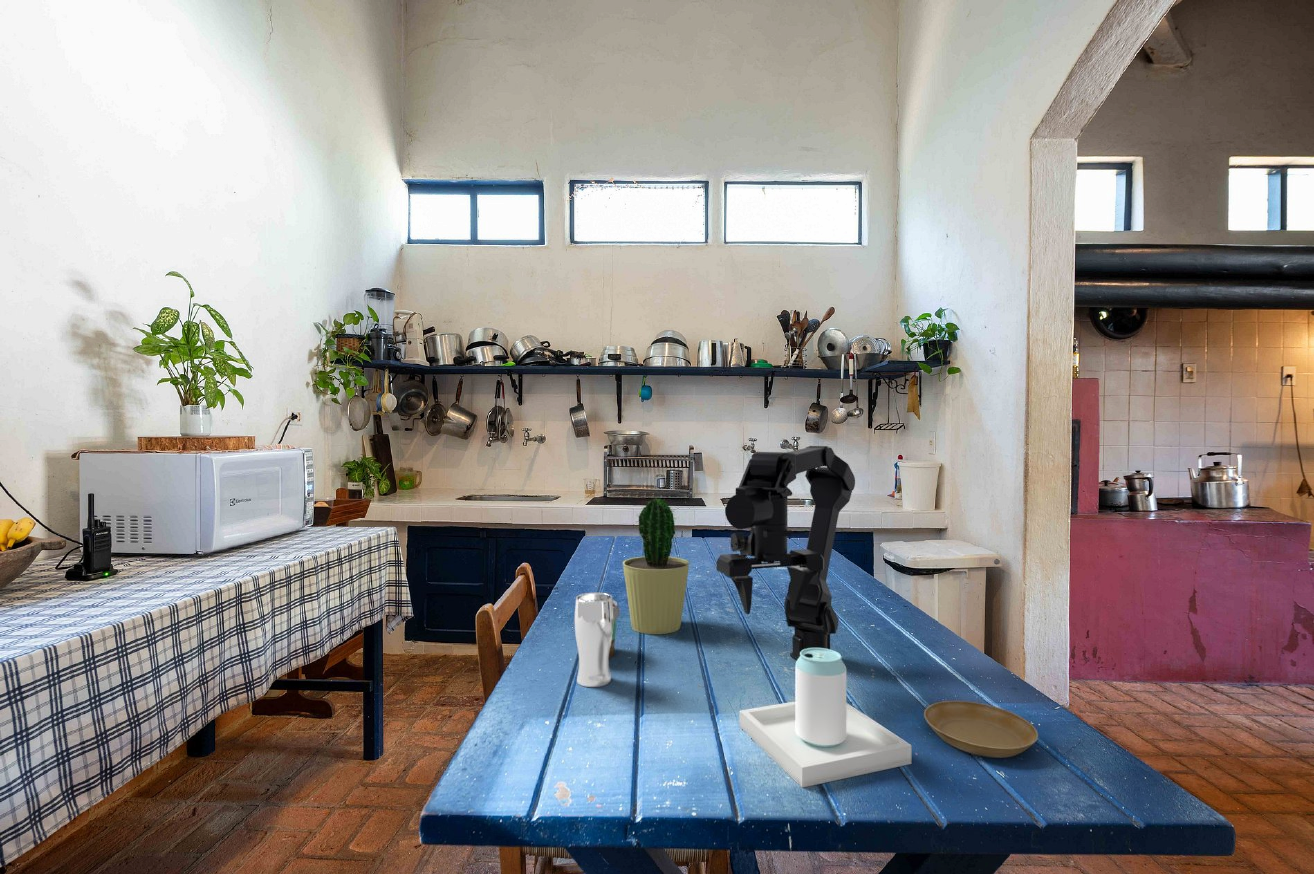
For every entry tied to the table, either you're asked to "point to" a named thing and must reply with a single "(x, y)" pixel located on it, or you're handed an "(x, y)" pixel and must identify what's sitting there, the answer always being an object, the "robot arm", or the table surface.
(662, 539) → the potted cactus
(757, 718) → the tray
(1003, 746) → the plant saucer
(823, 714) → the can
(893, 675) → the table surface
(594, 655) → the beer glass
